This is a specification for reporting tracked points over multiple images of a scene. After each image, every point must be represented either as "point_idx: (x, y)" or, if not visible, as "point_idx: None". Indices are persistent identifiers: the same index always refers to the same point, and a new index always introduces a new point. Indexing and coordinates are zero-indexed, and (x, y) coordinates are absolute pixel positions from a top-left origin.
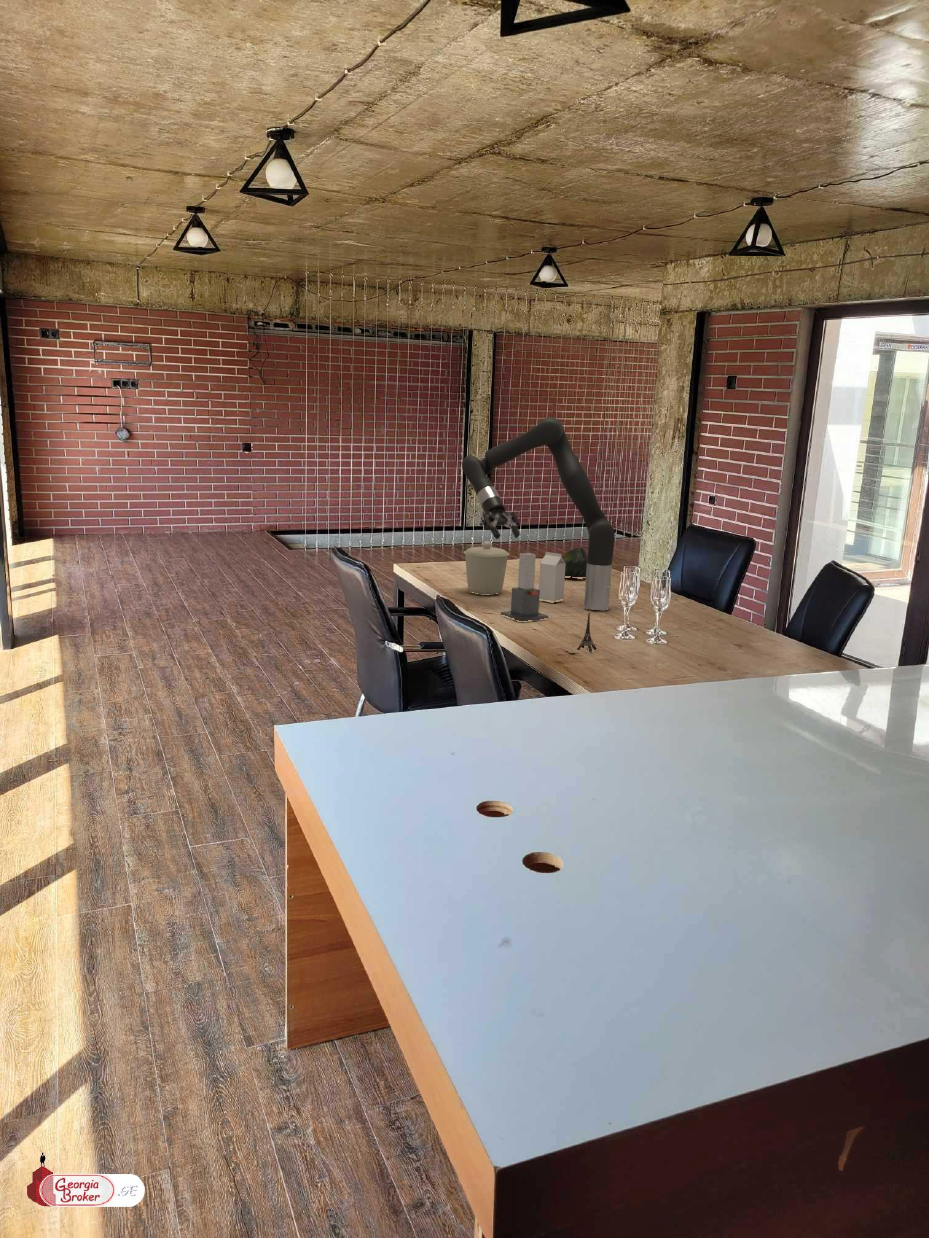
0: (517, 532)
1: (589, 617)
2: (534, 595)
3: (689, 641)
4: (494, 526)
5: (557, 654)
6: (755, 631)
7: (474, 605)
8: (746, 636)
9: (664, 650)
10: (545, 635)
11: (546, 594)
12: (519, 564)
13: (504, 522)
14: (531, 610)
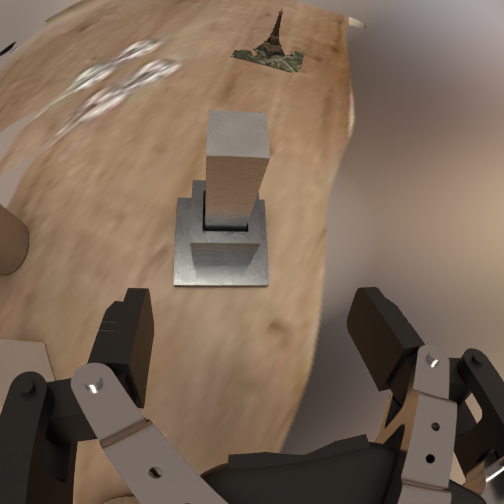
0: (139, 300)
1: (279, 16)
2: None
3: (106, 42)
4: (429, 353)
5: (320, 61)
6: (6, 67)
7: (258, 428)
8: (35, 51)
9: (175, 26)
10: (277, 116)
11: (40, 367)
12: (259, 184)
13: (254, 459)
14: None
